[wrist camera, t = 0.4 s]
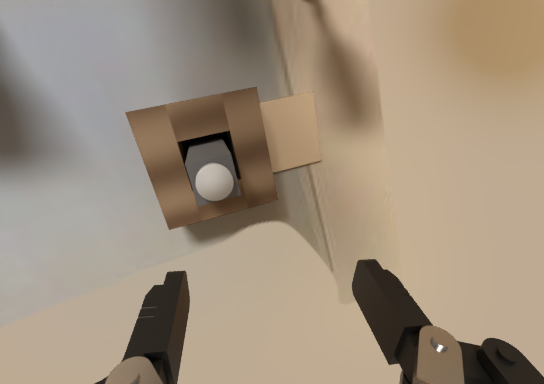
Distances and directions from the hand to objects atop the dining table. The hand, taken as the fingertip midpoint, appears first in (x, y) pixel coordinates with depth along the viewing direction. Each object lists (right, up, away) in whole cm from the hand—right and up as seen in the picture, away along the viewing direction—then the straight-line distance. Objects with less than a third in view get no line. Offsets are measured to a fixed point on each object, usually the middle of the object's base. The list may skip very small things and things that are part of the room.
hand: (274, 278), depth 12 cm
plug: (-9, +10, +24) cm, 27 cm away
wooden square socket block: (-9, +10, +24) cm, 27 cm away
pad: (+3, +13, +26) cm, 29 cm away
